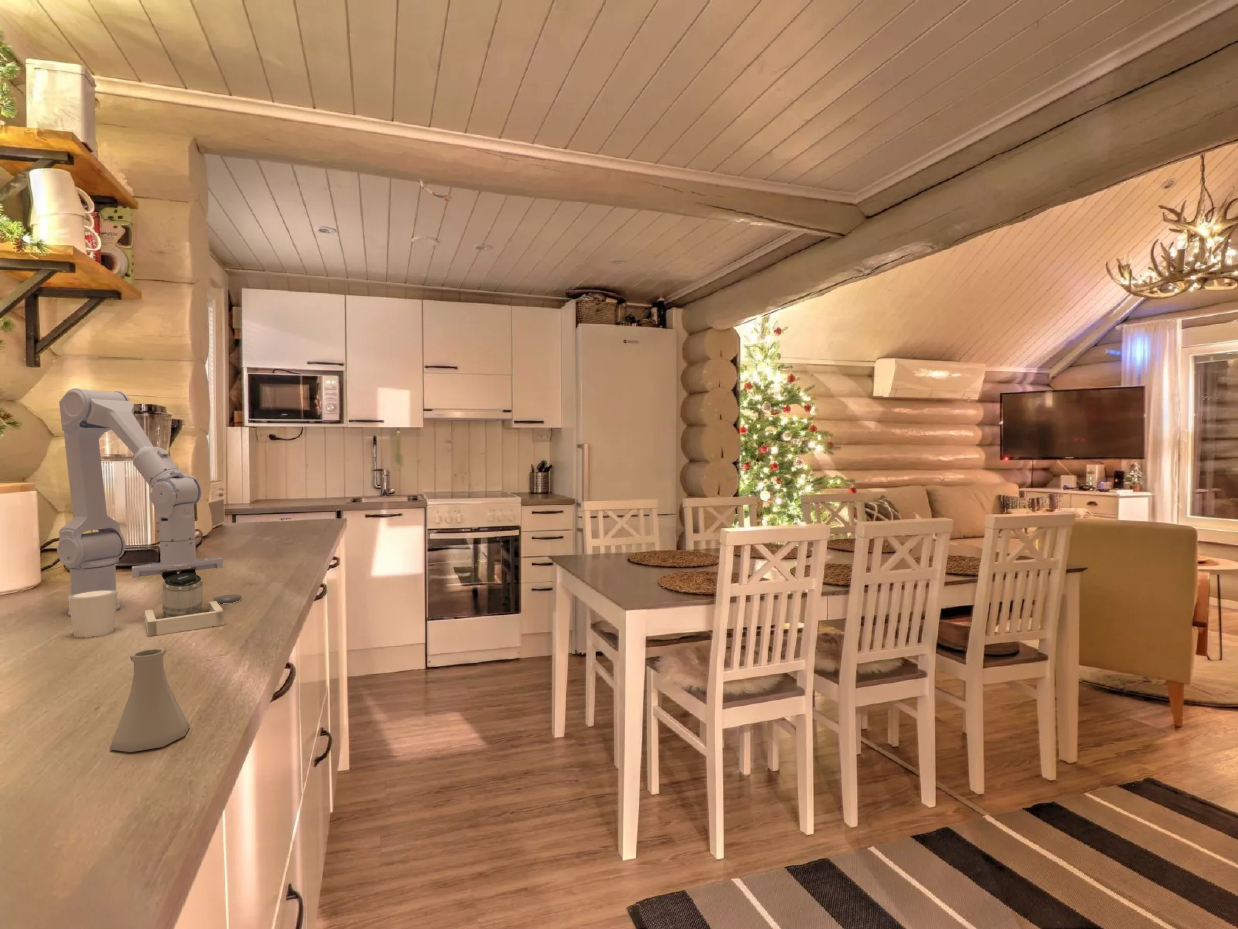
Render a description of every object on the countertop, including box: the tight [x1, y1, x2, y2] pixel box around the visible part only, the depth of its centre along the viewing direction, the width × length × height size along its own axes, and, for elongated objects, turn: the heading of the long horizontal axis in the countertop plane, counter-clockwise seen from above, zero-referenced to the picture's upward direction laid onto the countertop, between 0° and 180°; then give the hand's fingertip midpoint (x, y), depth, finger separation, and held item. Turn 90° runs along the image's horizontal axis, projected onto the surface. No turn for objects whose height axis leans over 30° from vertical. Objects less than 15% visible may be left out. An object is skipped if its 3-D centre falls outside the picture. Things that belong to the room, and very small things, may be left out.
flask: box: [109, 647, 191, 753], centre depth 75 cm, size 7×7×10 cm
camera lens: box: [162, 573, 204, 618], centre depth 125 cm, size 6×6×8 cm
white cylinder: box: [67, 589, 118, 638], centre depth 117 cm, size 7×7×7 cm
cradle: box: [144, 600, 225, 637], centre depth 122 cm, size 10×11×2 cm
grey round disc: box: [213, 594, 242, 604], centre depth 140 cm, size 5×5×1 cm
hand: (180, 609), depth 129 cm, fingers closed, pressing on camera lens
